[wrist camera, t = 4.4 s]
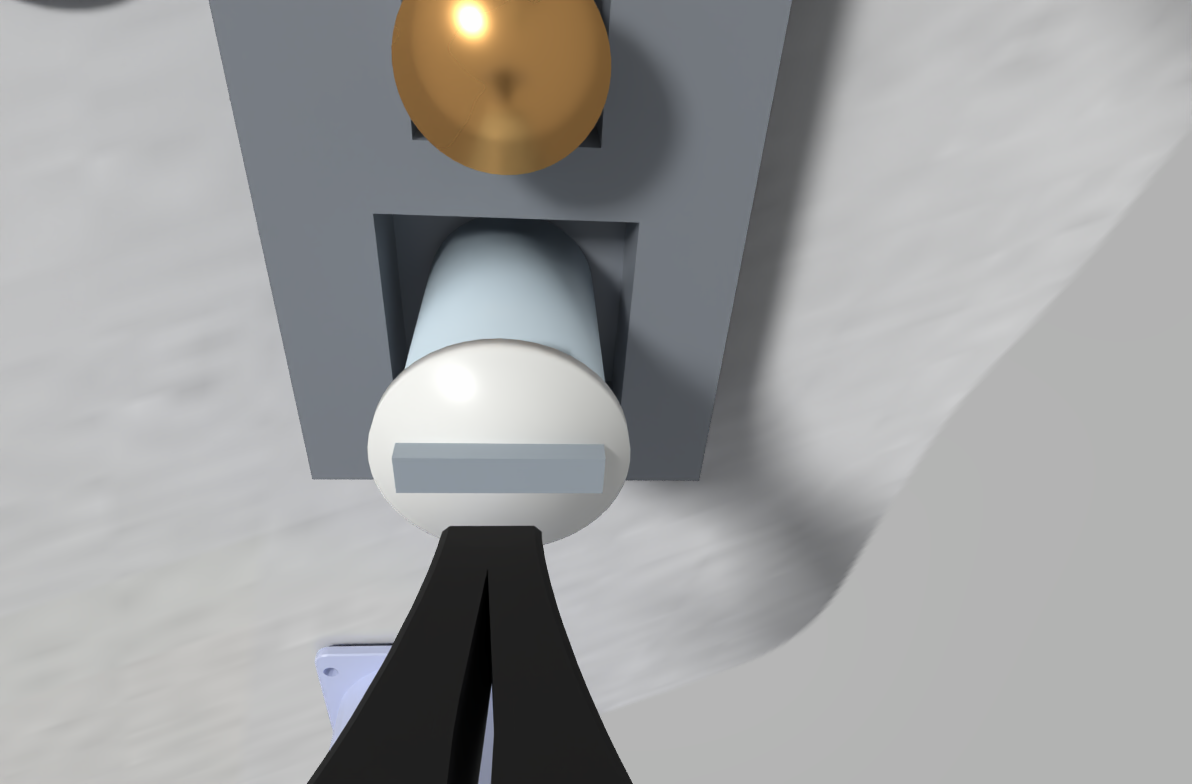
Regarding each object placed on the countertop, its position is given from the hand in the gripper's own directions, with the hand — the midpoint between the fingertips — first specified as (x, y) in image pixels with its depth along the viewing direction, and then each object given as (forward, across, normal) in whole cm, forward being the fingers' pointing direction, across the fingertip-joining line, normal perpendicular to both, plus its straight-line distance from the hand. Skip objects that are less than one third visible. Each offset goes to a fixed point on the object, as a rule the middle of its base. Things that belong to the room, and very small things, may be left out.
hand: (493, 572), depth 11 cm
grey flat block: (+9, 0, -2) cm, 10 cm away
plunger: (+9, 0, -6) cm, 10 cm away
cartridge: (+9, 0, 0) cm, 9 cm away
